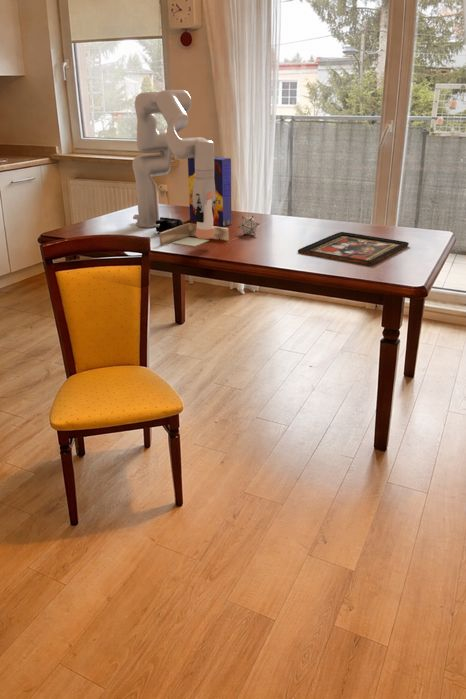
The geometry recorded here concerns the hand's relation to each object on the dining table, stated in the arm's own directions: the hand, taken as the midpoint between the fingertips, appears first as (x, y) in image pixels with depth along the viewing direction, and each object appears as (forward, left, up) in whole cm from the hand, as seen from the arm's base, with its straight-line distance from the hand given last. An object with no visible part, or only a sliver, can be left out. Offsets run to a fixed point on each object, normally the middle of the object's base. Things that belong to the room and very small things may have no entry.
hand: (205, 219), depth 235 cm
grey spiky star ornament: (+5, +28, -12) cm, 30 cm away
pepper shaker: (0, 0, -7) cm, 7 cm away
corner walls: (-9, +5, -11) cm, 15 cm away
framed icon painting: (+54, +26, -12) cm, 61 cm away
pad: (-10, +5, -11) cm, 16 cm away
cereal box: (-23, +41, -12) cm, 48 cm away
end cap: (-27, +13, -12) cm, 32 cm away
